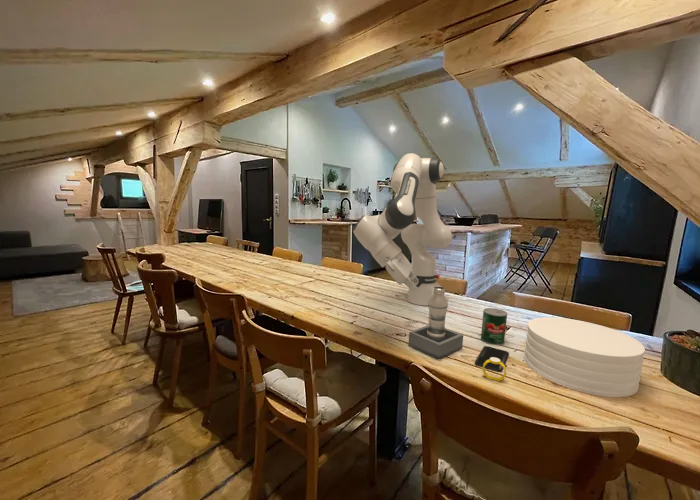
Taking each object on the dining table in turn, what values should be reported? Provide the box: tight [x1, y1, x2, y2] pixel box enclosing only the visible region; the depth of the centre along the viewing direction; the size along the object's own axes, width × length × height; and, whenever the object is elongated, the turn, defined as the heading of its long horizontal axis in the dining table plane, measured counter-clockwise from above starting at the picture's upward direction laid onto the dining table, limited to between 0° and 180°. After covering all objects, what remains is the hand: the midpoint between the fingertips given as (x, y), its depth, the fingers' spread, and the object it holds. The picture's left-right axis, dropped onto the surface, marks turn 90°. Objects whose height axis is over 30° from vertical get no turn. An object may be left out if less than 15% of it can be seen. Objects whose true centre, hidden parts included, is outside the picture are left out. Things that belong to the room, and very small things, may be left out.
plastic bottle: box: [426, 285, 449, 343], centre depth 106 cm, size 6×7×20 cm
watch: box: [482, 357, 507, 382], centre depth 88 cm, size 6×3×6 cm, turn 62°
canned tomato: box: [480, 307, 508, 346], centre depth 113 cm, size 8×8×11 cm
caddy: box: [407, 325, 464, 361], centre depth 107 cm, size 13×12×5 cm
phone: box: [474, 345, 510, 373], centre depth 100 cm, size 8×1×15 cm
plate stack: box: [523, 316, 646, 398], centre depth 95 cm, size 28×28×12 cm
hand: (416, 285), depth 106 cm, fingers open, 8 cm apart
